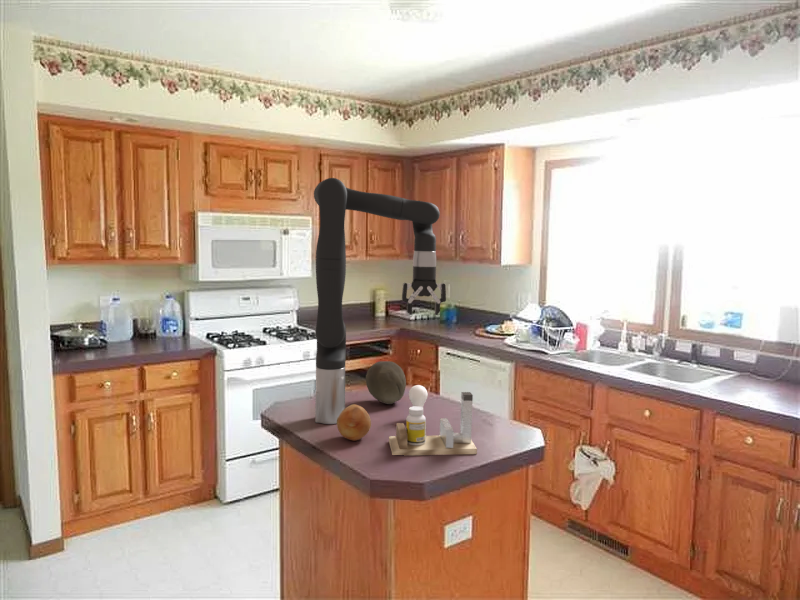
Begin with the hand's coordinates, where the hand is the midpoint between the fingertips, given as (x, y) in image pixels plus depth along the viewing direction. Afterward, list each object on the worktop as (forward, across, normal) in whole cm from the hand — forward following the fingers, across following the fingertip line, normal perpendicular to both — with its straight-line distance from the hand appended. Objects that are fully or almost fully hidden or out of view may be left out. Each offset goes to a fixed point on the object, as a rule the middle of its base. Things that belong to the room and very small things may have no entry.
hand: (423, 314), depth 189 cm
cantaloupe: (+33, -11, +12) cm, 37 cm away
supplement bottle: (+32, -6, -32) cm, 46 cm away
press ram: (+31, +5, -32) cm, 45 cm away
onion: (+33, -23, -24) cm, 47 cm away
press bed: (+33, -2, -32) cm, 46 cm away
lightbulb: (+33, -2, -6) cm, 34 cm away
